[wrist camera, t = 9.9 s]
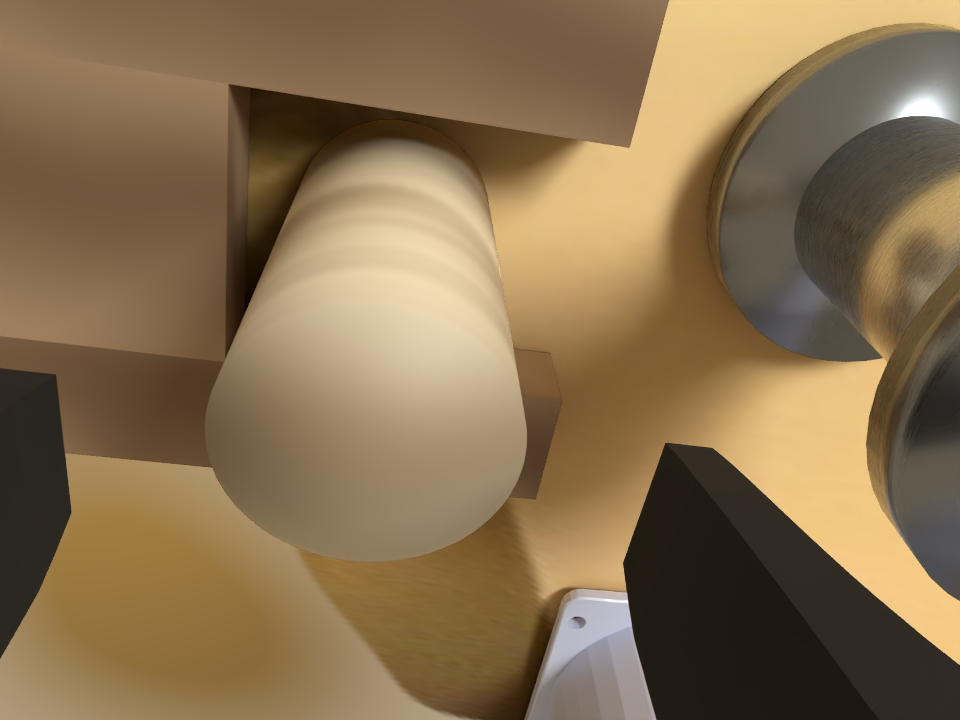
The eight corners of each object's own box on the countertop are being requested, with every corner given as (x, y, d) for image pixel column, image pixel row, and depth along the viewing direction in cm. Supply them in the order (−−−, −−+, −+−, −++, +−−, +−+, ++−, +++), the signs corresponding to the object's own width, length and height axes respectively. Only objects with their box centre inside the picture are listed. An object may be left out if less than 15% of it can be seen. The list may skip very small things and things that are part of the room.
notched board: (526, 446, 20) (535, 499, 19) (21, 392, 19) (-20, 444, 17) (645, -32, 15) (674, -19, 13) (-57, -166, 13) (-129, -171, 11)
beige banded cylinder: (471, 311, 18) (494, 574, 11) (292, 287, 18) (204, 547, 11) (505, 137, 16) (559, 329, 9) (305, 104, 16) (205, 280, 9)
